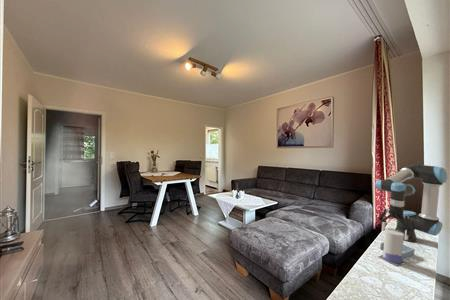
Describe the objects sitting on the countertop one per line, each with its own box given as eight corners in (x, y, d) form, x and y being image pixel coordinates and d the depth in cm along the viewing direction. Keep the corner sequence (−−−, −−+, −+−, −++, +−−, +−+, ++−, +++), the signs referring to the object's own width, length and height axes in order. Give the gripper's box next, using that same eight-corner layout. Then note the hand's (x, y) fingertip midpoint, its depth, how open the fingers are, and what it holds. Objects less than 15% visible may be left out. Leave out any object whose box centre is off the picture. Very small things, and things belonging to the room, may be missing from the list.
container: (395, 255, 144) (397, 229, 143) (404, 264, 134) (407, 235, 133) (379, 253, 146) (382, 227, 145) (388, 262, 136) (390, 234, 135)
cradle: (391, 245, 159) (391, 239, 159) (414, 255, 146) (414, 249, 145) (380, 249, 153) (380, 243, 153) (402, 260, 140) (403, 253, 140)
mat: (387, 253, 147) (387, 253, 147) (405, 262, 137) (405, 261, 137) (378, 257, 143) (378, 256, 143) (396, 266, 133) (396, 265, 133)
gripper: (373, 200, 147) (371, 227, 149) (416, 212, 124) (413, 245, 126) (380, 199, 150) (378, 226, 152) (423, 211, 127) (420, 242, 129)
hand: (394, 234), depth 139 cm, fingers open, 13 cm apart
